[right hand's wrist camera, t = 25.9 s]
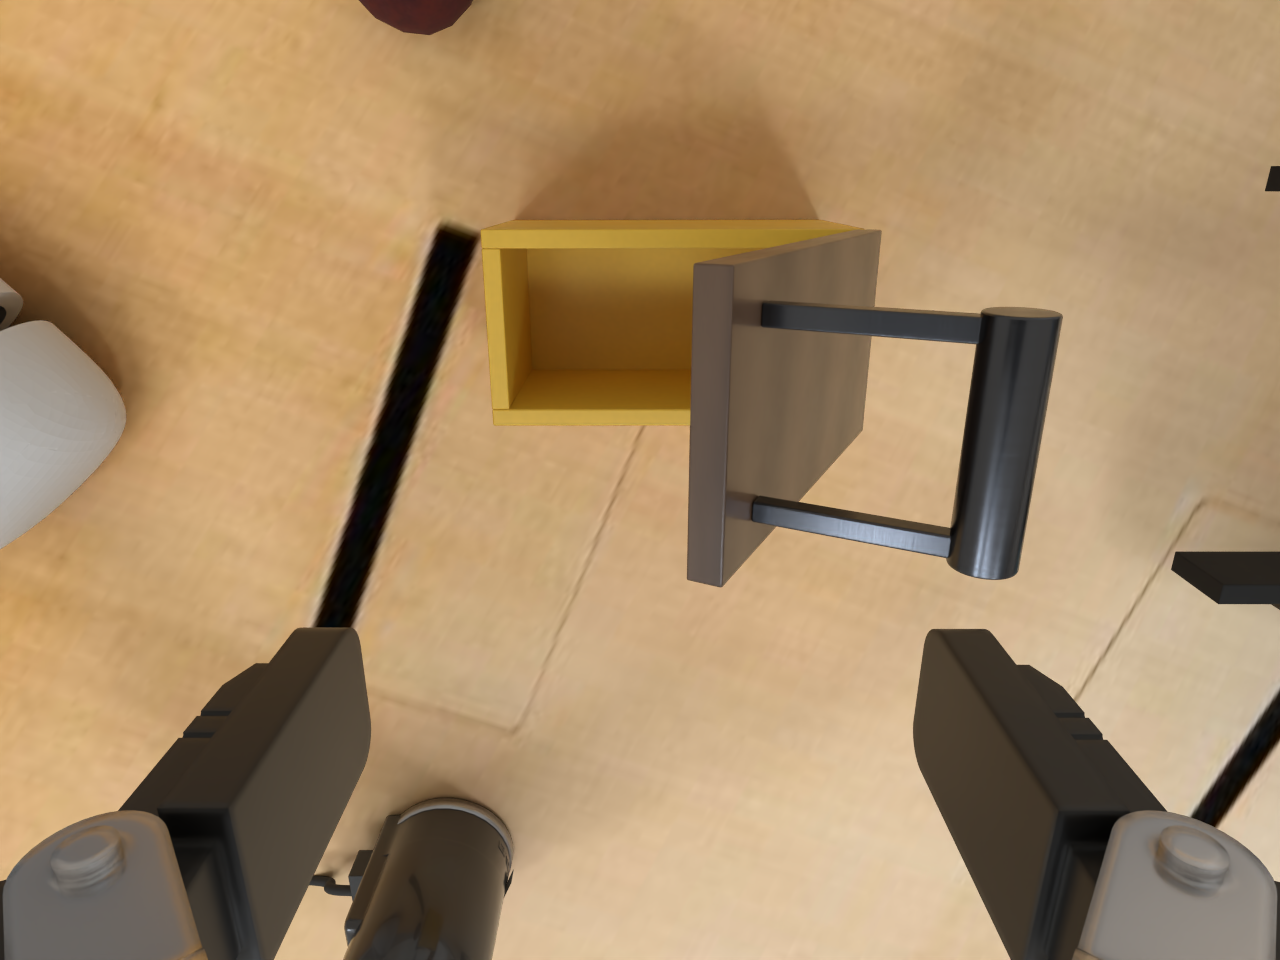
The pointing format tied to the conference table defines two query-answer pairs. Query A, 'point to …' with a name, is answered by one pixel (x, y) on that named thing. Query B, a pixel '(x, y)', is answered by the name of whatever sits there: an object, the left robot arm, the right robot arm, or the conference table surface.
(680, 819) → the conference table surface
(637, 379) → the chest
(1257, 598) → the left robot arm
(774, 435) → the lid
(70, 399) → the grey piece
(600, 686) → the conference table surface
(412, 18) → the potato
